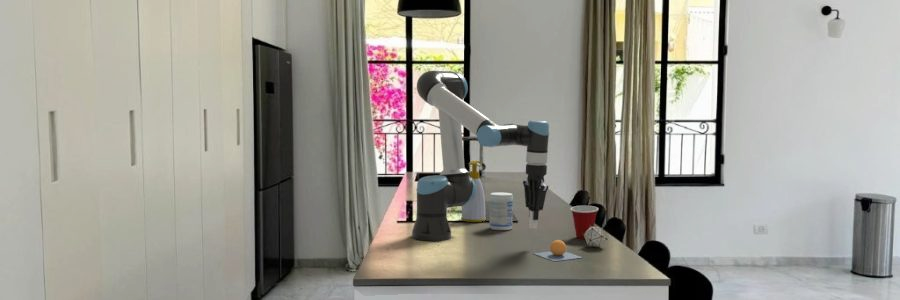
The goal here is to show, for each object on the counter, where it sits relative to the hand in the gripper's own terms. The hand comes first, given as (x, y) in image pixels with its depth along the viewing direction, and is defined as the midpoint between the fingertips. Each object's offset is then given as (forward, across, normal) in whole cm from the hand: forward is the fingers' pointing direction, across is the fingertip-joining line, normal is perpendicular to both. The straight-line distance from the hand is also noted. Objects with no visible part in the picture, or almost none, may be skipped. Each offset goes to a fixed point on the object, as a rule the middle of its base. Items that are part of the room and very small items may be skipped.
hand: (533, 228), depth 246 cm
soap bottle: (+9, +56, -7) cm, 57 cm away
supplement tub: (+8, +35, -8) cm, 37 cm away
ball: (+4, -15, -1) cm, 15 cm away
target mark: (+7, -15, 0) cm, 16 cm away
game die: (+7, -9, -21) cm, 24 cm away
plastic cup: (+7, +6, -28) cm, 30 cm away
